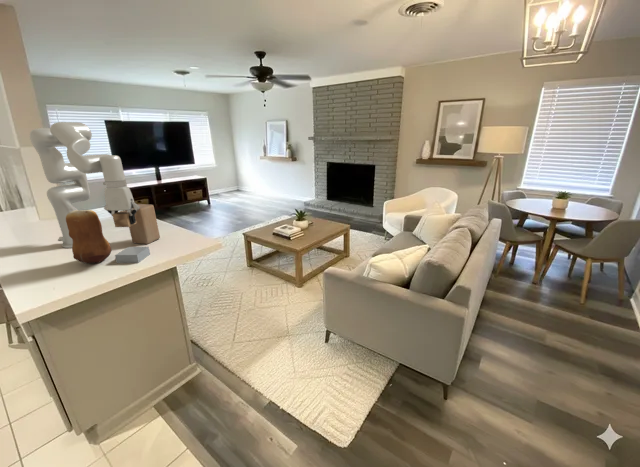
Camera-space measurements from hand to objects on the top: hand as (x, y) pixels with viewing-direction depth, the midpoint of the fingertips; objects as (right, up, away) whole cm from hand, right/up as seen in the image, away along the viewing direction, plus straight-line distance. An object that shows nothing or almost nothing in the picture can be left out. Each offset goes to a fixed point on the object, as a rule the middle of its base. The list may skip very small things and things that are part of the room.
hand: (125, 223), depth 132 cm
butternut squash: (-16, -18, +2) cm, 24 cm away
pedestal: (0, -17, +6) cm, 18 cm away
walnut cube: (0, -1, 0) cm, 1 cm away
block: (-7, -9, +28) cm, 31 cm away
